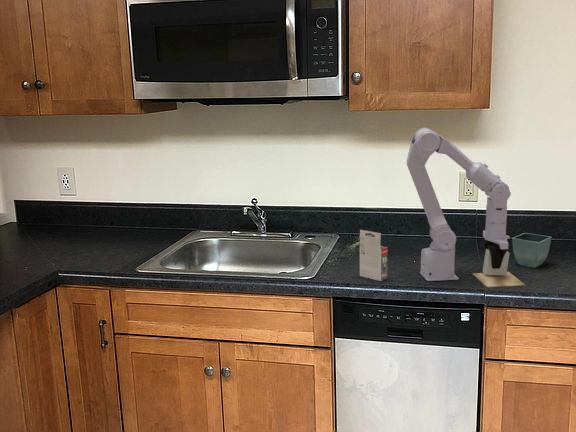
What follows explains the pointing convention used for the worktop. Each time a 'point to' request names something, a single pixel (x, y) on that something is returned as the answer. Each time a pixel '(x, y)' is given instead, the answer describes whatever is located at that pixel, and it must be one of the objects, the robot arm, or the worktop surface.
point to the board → (498, 280)
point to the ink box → (372, 256)
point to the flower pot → (531, 249)
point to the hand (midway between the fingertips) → (493, 266)
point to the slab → (488, 265)
